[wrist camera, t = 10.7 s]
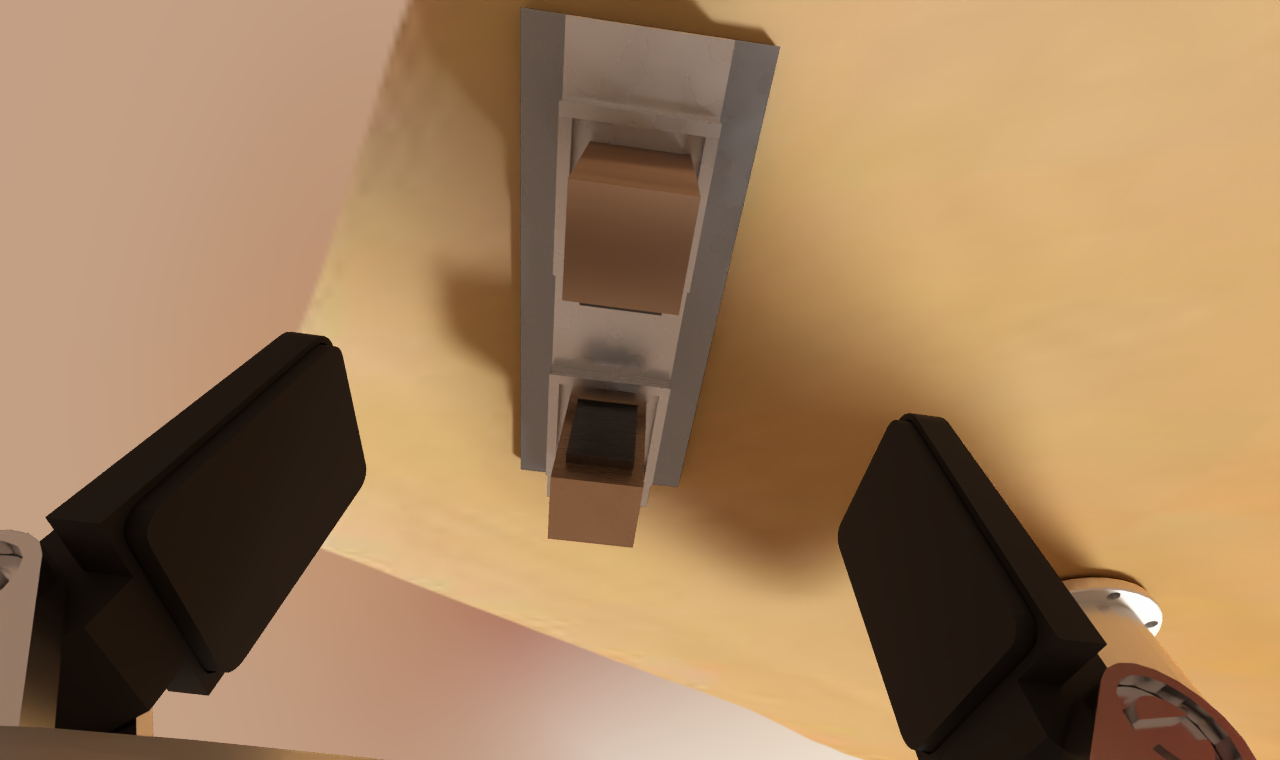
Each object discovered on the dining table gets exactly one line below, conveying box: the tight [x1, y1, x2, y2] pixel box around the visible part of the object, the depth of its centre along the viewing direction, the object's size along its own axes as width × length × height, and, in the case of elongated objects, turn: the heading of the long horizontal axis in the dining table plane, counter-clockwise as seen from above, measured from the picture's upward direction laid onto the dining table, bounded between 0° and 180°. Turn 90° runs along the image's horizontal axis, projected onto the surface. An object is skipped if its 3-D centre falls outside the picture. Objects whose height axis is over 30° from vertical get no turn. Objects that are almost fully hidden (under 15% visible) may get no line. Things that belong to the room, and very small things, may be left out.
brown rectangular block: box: [562, 141, 701, 316], centre depth 20 cm, size 5×4×6 cm
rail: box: [521, 7, 780, 548], centre depth 24 cm, size 24×10×9 cm, turn 173°
